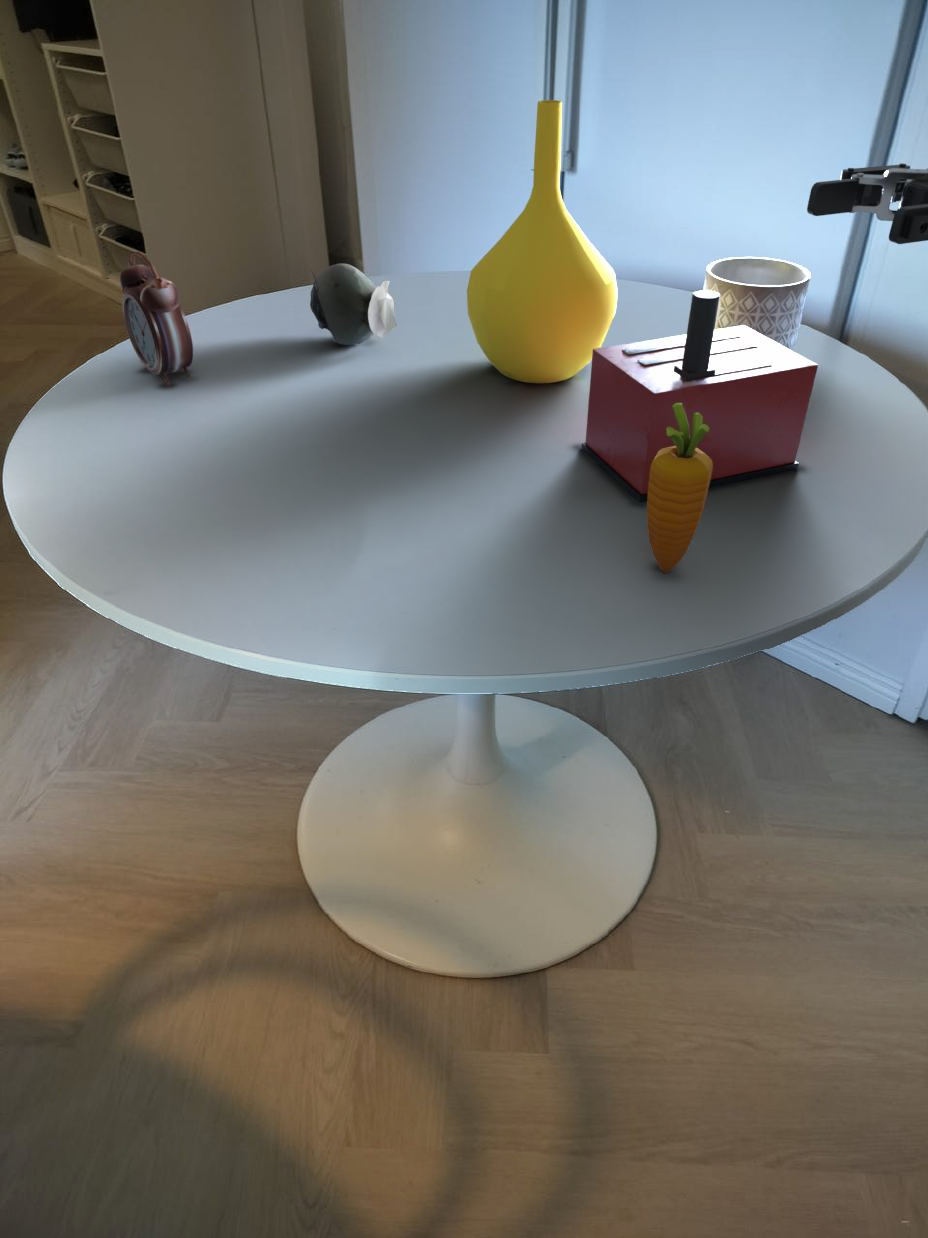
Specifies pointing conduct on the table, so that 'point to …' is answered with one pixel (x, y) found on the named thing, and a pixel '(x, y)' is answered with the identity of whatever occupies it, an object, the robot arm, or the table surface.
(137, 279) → the alarm clock
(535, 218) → the vase
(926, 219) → the robot arm
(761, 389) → the knife block
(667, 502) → the carrot
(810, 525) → the table surface
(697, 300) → the slider
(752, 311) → the planter
